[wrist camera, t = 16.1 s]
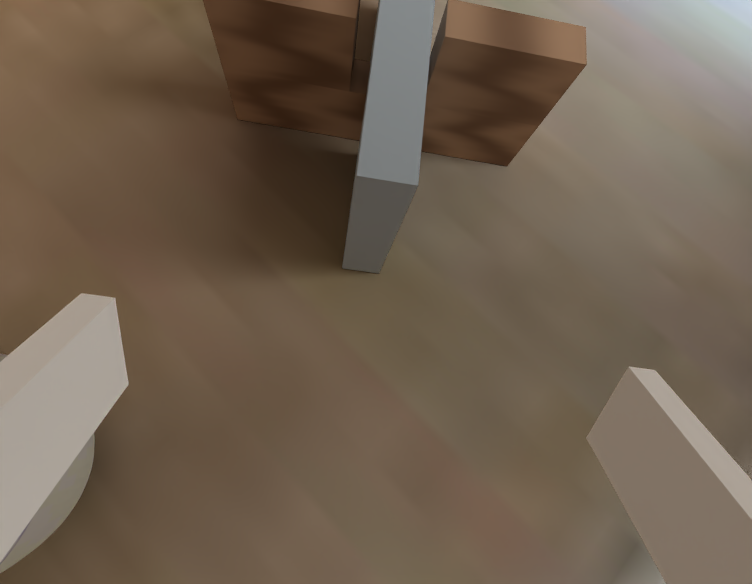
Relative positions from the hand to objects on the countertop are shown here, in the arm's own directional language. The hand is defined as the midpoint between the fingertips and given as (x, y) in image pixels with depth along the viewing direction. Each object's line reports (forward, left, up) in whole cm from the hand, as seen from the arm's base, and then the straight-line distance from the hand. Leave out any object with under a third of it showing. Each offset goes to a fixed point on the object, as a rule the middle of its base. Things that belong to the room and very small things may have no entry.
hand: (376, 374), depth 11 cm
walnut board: (0, -19, -16) cm, 25 cm away
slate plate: (0, -19, -16) cm, 25 cm away
